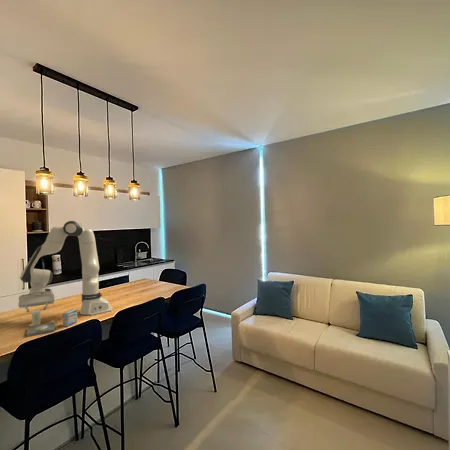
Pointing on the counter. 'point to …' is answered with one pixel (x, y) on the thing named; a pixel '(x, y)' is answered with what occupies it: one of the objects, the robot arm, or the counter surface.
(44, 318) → the counter surface
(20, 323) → the counter surface
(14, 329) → the counter surface
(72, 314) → the medicine box
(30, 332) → the levelling base
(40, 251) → the robot arm
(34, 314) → the block
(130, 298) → the counter surface
